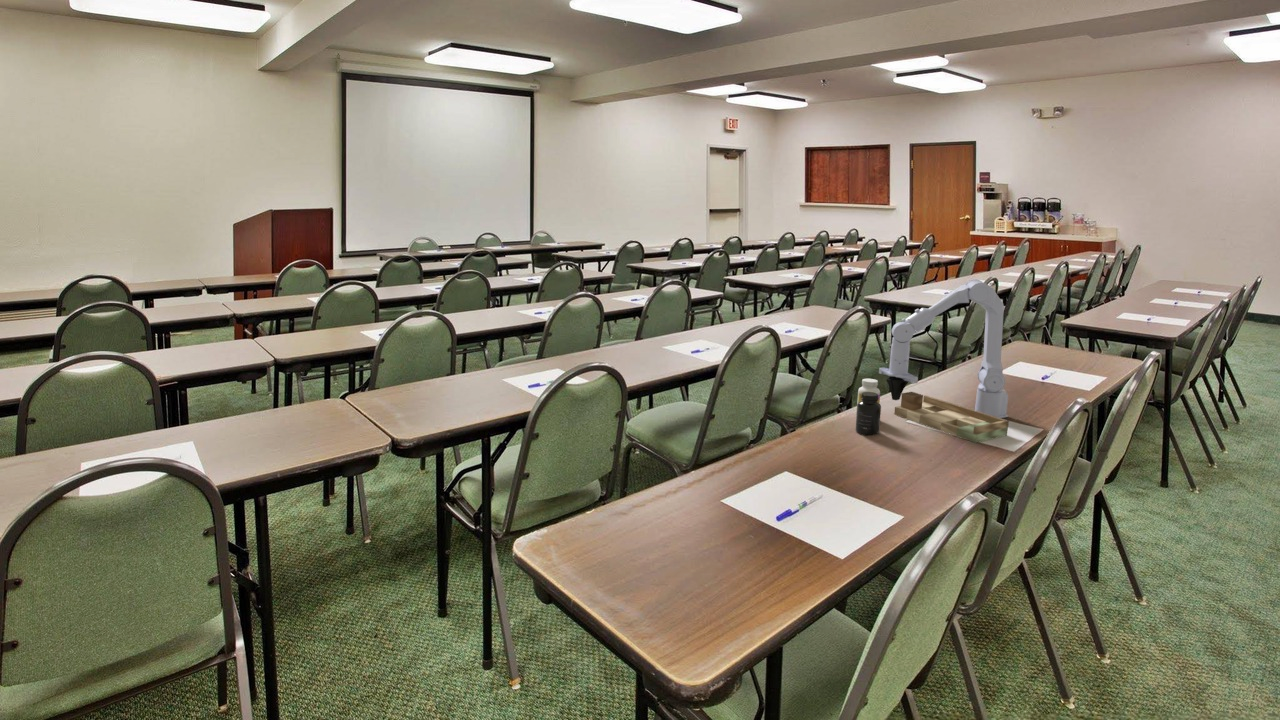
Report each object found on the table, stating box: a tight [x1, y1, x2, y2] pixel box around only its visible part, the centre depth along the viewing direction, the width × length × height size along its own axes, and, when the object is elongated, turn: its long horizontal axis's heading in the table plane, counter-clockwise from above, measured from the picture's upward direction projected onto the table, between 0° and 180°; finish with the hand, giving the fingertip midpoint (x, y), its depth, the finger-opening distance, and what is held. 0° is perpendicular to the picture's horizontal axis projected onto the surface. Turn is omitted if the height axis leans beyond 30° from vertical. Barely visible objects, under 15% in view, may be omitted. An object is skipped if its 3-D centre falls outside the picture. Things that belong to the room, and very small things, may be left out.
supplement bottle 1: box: [856, 378, 881, 414], centre depth 222 cm, size 7×7×13 cm
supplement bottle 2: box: [855, 392, 882, 436], centre depth 211 cm, size 7×7×12 cm
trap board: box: [893, 395, 1010, 444], centre depth 219 cm, size 14×30×4 cm, turn 28°
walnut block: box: [900, 391, 924, 410], centre depth 227 cm, size 4×4×4 cm
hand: (895, 399), depth 233 cm, fingers closed
